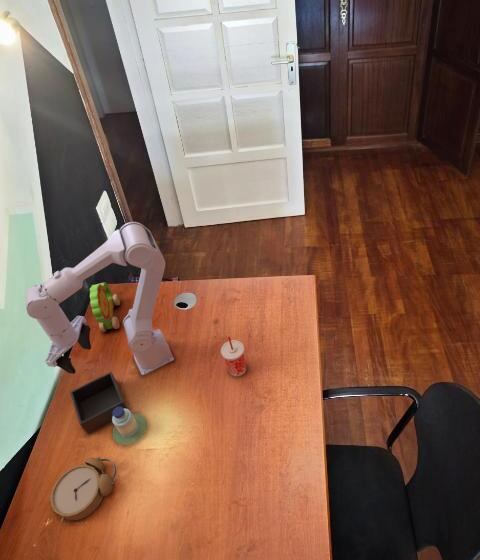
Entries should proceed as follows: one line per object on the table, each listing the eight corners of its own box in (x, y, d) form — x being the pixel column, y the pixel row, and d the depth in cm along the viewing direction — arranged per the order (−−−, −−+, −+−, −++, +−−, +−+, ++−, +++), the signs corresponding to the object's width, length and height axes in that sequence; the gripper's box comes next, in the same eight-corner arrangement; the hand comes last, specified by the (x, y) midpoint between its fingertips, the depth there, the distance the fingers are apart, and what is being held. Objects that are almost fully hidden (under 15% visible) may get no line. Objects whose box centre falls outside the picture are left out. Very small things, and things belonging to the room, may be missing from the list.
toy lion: (104, 302, 154) (86, 268, 143) (121, 299, 154) (104, 264, 144) (101, 340, 143) (81, 306, 132) (120, 336, 143) (101, 302, 132)
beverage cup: (222, 375, 130) (212, 343, 120) (232, 357, 134) (223, 325, 124) (243, 381, 128) (234, 349, 118) (252, 363, 132) (245, 331, 122)
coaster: (140, 408, 125) (140, 407, 125) (151, 433, 120) (151, 433, 119) (108, 425, 122) (108, 424, 122) (118, 452, 117) (118, 451, 117)
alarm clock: (41, 489, 109) (97, 442, 113) (54, 495, 113) (108, 449, 117) (59, 529, 102) (118, 477, 106) (72, 533, 106) (129, 483, 110)
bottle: (135, 417, 123) (124, 399, 117) (141, 431, 120) (130, 413, 114) (117, 426, 121) (105, 409, 115) (123, 441, 118) (111, 423, 112)
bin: (117, 382, 131) (111, 371, 128) (130, 412, 124) (123, 401, 121) (78, 402, 128) (69, 391, 124) (88, 434, 121) (80, 424, 117)
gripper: (60, 302, 121) (81, 336, 131) (25, 348, 111) (50, 381, 121) (84, 306, 120) (103, 339, 129) (51, 352, 110) (74, 385, 119)
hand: (79, 360), depth 125 cm, fingers open, 7 cm apart
